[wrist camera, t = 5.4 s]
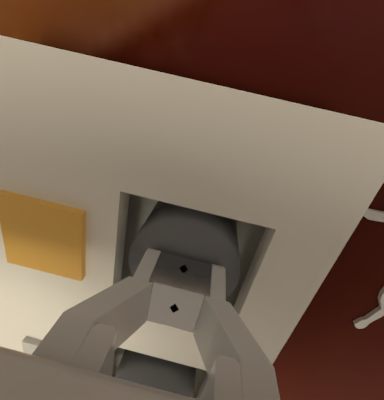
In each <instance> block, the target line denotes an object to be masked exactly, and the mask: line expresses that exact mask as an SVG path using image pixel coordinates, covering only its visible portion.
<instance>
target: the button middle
mask: <svg viewBox="0 0 384 400" xmlns="http://www.w3.org/2000/svg"><path fill="white" fill-rule="evenodd" d="M114 377H116V378H120V379H124V380H127V381H131V382H135V383H139V384H142V385H146V386H150V387H153V388H157V389H161V390H165V391H168V392H172V393H176V394H179V395H183V396H187V397H191V398H193V397H194V387H195V377H196V368H194V367H191V366H187V365H183V364H179V363H176V362H172V361H168V360H164V359H160V358H157V357H153V356H149V355H145V354H142V353H138V352H134V351H130V350H127V349H125V351H124V353H123V356H122V358H121V361H120V364H119V366H118V369H117V371H116V374H115V376H114Z"/></svg>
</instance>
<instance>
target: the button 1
mask: <svg viewBox="0 0 384 400" xmlns="http://www.w3.org/2000/svg"><path fill="white" fill-rule="evenodd" d="M148 248H152V249H156V250H159V251H164V252H167V253H171V254H174V255H178V256H182V257H185V258H189V259H193V260H197V261H201V262H205V263H209V264H215V265H219V266H224V267H225V269H226V298H227V297H228V296H229V295H230V294H231V293H232V292H233V291H234V289H235V288H236V286H237V284H238V281H239V278H240V258H239V247H238V236H237V225H236V220H235V219H231V218H227V217H222V216H218V215H214V214H210V213H206V212H202V211H198V210H194V209H190V208H186V207H182V206H178V205H174V204H170V203H165V202H161V201H158V202H157V204H156V205H155V207H154V208H153V210H152V212H151V213H150V215H149V216H148V218H147V220H146V221H145V223H144V225H143V226H142V228H141V229H140V231H139V233H138V234H137V236H136V237H135V239H134V241H133V243H132V244H131V247H130V250H129V255H128V262H129V268H130V271H131V274H132V276H134V274H135V272H136V270H137V268H138V266H139V264H140V262H141V260H142V258H143V256H144V254H145V252H146V250H147V249H148Z"/></svg>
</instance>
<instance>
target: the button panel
mask: <svg viewBox="0 0 384 400" xmlns="http://www.w3.org/2000/svg"><path fill="white" fill-rule="evenodd" d="M383 183H384V123H381V122H376V121H372V120H368V119H363V118H359V117H355V116H350V115H346V114H341V113H337V112H333V111H328V110H324V109H320V108H315V107H311V106H307V105H302V104H298V103H294V102H289V101H285V100H280V99H276V98H272V97H267V96H263V95H259V94H254V93H250V92H246V91H241V90H237V89H232V88H228V87H224V86H219V85H215V84H211V83H206V82H202V81H198V80H193V79H189V78H185V77H180V76H176V75H171V74H167V73H163V72H158V71H154V70H150V69H145V68H141V67H137V66H132V65H128V64H124V63H119V62H115V61H110V60H106V59H102V58H97V57H93V56H89V55H84V54H80V53H76V52H71V51H67V50H62V49H58V48H54V47H49V46H45V45H41V44H36V43H32V42H28V41H23V40H19V39H15V38H10V37H6V36H1V35H0V346H2V347H5V348H9V349H13V350H16V351H20V352H24V353H27V354H31V355H32V353H33V352H34V351H35V349H36V348H37V347H38V345H39V344H40V343H41V341H42V340H43V339H44V337H45V336H46V335H47V333H48V332H49V331H50V329H51V328H52V326H53V325H54V324H55V322H56V321H57V320H58V318H59V317H60V316H61V314H62V313H63V312H64V311H66V310H68V309H69V308H71V307H73V306H75V305H77V304H79V303H81V302H82V301H84V300H86V299H88V298H90V297H92V296H93V295H95V294H97V293H99V292H101V291H103V290H104V289H106V288H108V287H110V286H112V285H114V284H116V283H117V282H119V281H121V280H123V279H125V278H127V277H128V276H130V277H133V276H132V274H131V271H130V268H129V262H128V255H129V250H130V247H131V244H132V243H133V241H134V239H135V237H136V236H137V234H138V233H139V231H140V229H141V228H142V226H143V225H144V223H145V221H146V220H147V218H148V216H149V215H150V213H151V212H152V210H153V208H154V207H155V205H156V204H157V202H158V201H161V202H165V203H170V204H174V205H178V206H182V207H186V208H190V209H194V210H198V211H202V212H206V213H210V214H214V215H218V216H222V217H227V218H231V219H235V220H236V225H237V236H238V247H239V258H240V278H239V281H238V284H237V286H236V288H235V289H234V291H233V292H232V293H231V294H230V295H229V296H228V297H227V298H226V301H227V302H230V303H231V305H232V306H233V308H234V309H235V310H236V312H237V313H238V315H239V316H240V318H241V319H242V321H243V322H244V324H245V325H246V327H247V328H248V330H249V331H250V333H251V334H252V336H253V337H254V339H255V340H256V342H257V343H258V344H259V346H260V347H261V349H262V350H263V352H264V353H265V355H266V356H267V358H268V359H269V361H270V362H271V364H273V363H274V361H275V359H276V358H277V356H278V355H279V353H280V351H281V350H282V348H283V346H284V345H285V343H286V341H287V340H288V338H289V337H290V335H291V333H292V332H293V330H294V328H295V327H296V325H297V323H298V322H299V320H300V319H301V317H302V315H303V314H304V312H305V310H306V309H307V307H308V305H309V304H310V302H311V301H312V299H313V297H314V296H315V294H316V292H317V291H318V289H319V287H320V286H321V284H322V282H323V281H324V279H325V278H326V276H327V274H328V273H329V271H330V269H331V268H332V266H333V264H334V263H335V261H336V260H337V258H338V256H339V255H340V253H341V251H342V250H343V248H344V246H345V245H346V243H347V242H348V240H349V238H350V237H351V235H352V233H353V232H354V230H355V228H356V227H357V225H358V223H359V222H360V220H361V219H362V217H363V215H364V214H365V212H366V210H367V209H368V207H369V205H370V204H371V202H372V201H373V199H374V197H375V196H376V194H377V192H378V191H379V189H380V187H381V186H382V184H383ZM125 349H127V350H130V351H134V352H138V353H142V354H145V355H149V356H153V357H157V358H160V359H164V360H168V361H172V362H176V363H179V364H183V365H187V366H191V367H194V368H196V377H195V387H194V397H193V398H194V399H199V397H200V395H201V392H202V390H203V388H204V385H205V383H206V381H207V378H208V374H207V371H206V369H205V366H204V363H203V360H202V358H201V355H200V352H199V350H198V347H197V344H196V341H195V339H194V336H193V333H192V332H188V331H185V330H181V329H178V328H174V327H171V326H167V325H163V324H158V323H154V322H150V321H146V323H144V324H143V325H142V326H141V327H140V328H139V329H138V330H137V331H136V332H135V333H133V334H132V335H131V336H130V337H129V338H128V339H127V340H126V341H125V342H124V343H122V344H121V345H120V346H119V347H118V348H117V349H116V350H115V354H114V364H113V373H112V376H113V377H114V376H115V374H116V371H117V369H118V366H119V364H120V361H121V358H122V356H123V353H124V351H125Z"/></svg>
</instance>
